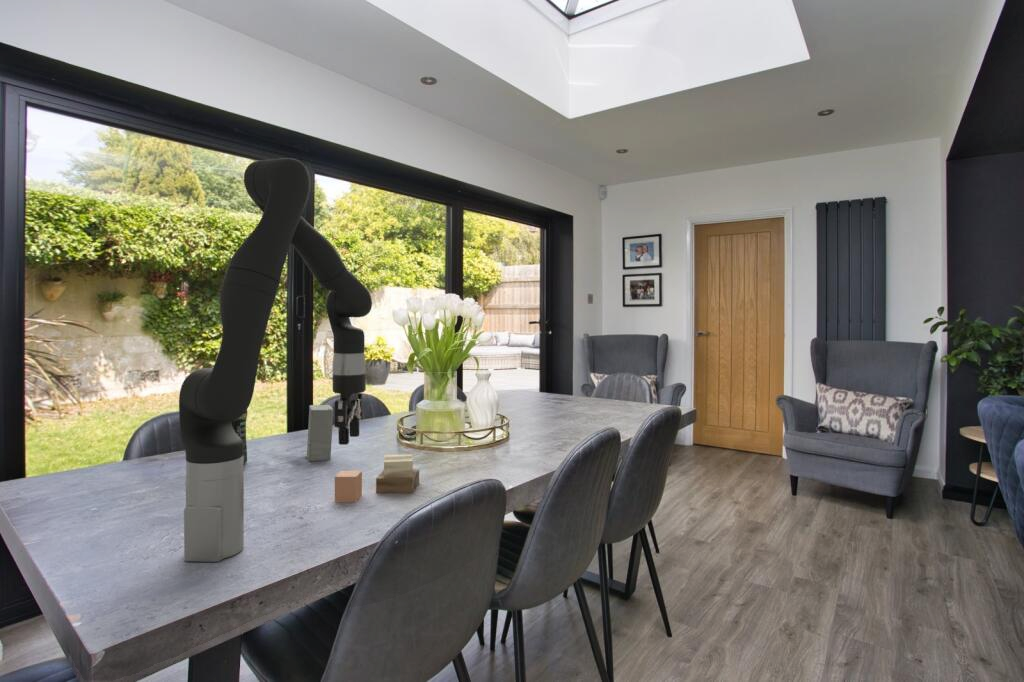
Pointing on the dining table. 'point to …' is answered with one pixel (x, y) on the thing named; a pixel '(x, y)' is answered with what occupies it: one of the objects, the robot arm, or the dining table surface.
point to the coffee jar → (241, 431)
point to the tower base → (397, 483)
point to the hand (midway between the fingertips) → (349, 440)
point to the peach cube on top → (348, 486)
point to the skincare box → (319, 432)
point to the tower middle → (398, 466)
